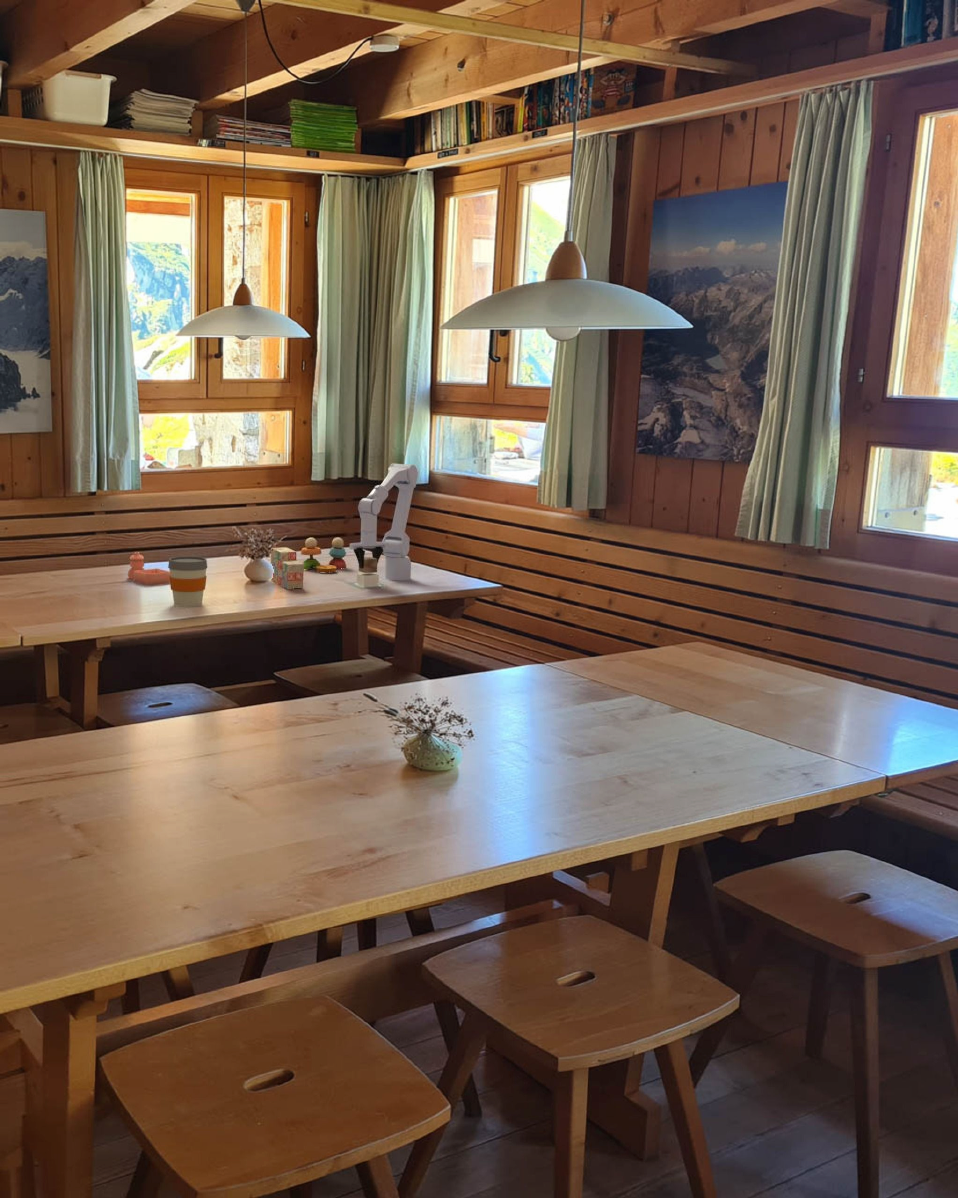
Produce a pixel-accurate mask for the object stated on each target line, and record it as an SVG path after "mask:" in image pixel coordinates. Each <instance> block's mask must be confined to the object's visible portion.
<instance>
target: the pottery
mask: <svg viewBox="0 0 958 1198" xmlns="http://www.w3.org/2000/svg"><path fill="white" fill-rule="evenodd" d="M144 557H145V556H143V555H142V554H140V552H139V551H134V554H132V555H130V557H129V559H130V562H129V567H130V569H129V570H128V572H127V577H128V579H129V580H133V582H134V583H138V584H141V585H144V586H148V587H149V586H156V585H164V584H170V579H169V576H170V570H164V569H161V568H157V567H156V568H148V569H145V568H144V566H145V562H144V559H145V558H144Z"/></svg>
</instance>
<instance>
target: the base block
mask: <svg viewBox="0 0 958 1198" xmlns="http://www.w3.org/2000/svg"><path fill="white" fill-rule="evenodd" d="M379 581H380V575H379V574H377V573H363V572H358V573H356V582H357V584H358V585H361V586H363V587H367V586H379V583H380V582H379Z"/></svg>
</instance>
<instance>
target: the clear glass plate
mask: <svg viewBox="0 0 958 1198" xmlns="http://www.w3.org/2000/svg"><path fill="white" fill-rule="evenodd" d="M345 584H347V585H349V586H351V587H355V588H357V589H360V590H371V589H373V590H374V589H384V588H385V589H387V588H390V586H389V585H387V584H383V583H381V582H379V586H367V587H363V586H361V585H358V584H357V581H351V582H349V581H348V582H345Z"/></svg>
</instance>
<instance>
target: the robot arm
mask: <svg viewBox="0 0 958 1198" xmlns="http://www.w3.org/2000/svg"><path fill="white" fill-rule="evenodd" d="M387 469H388V470H387V475H386V476H385V478H384V480H383V481H382V483H381V484H378V485H375V486H374V488H373V489H372V490H371V491H370V493H369V494H368V495H367V496H366V497H363V498H361V500H360V501H359V503H358V506H357V510H358V512H359V517H360V519H361V521H360V523H361V524H360V542H353V543H351V542H350V543H349V550H353V553H354V554H355V557H356V559H357V563H358V569H359V568H361V569H363V566H364V557H365V553H366V551H365V550H364V549H371V555H372V556H371V557H373V558H376V559H377V565H378V564H379V561H380V558H381V556H382V554H383V557H385V561H384V564H385V565H384V576H383V575H382V576H380V578H381V579H384V580H386V581H390V582H391V581H392V582H393V581H406V580H409V581H411V580H412V578H411V577H412V576H411V575H412V562H411V558H410V557H409V556H408V554H409V551H410V540H411V538H410V536H408V534H407V533H406V526H407V522H408V517H409V513H410V508H411V503H412V498H413V493H414V489H415V488H416V487H417V482H418V477H419V472H418V468H417V466H416V465H415V464H404V463H397V462H396V463H394V462H392V463H391V464H390V466H389V467H388V468H387ZM394 486H395V487H397V488H398V495H397V500H396V503H395V504H396V505H395V508H394V509H395V510H394V515H393V519H392V524H391V529H390V530H389V531H387V532H385V533H384V537H383V539H382V541H377V533H378V532H377V529H378V527H377V525H378V514H379V513H380V511H381V509H382V505H383V503H384V502H385V501H386V499H387V498H388V497H389V491H390V490H391V489H392V488H393V487H394Z"/></svg>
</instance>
